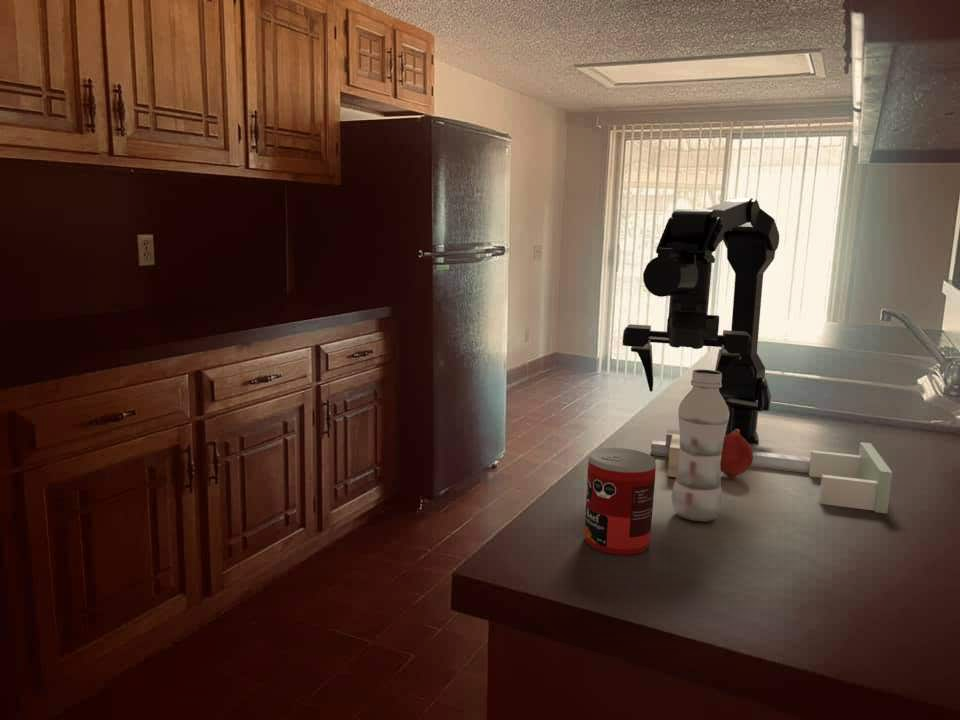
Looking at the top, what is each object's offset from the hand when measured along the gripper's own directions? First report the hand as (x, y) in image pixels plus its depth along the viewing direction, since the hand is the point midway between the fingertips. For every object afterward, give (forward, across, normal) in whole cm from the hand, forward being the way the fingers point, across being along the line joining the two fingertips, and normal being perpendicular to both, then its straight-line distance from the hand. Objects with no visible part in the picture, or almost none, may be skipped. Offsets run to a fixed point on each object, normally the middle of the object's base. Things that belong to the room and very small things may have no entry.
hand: (681, 393), depth 113 cm
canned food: (+13, -6, -29) cm, 33 cm away
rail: (+13, +11, +10) cm, 20 cm away
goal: (+13, +24, +1) cm, 27 cm away
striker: (+13, +1, +4) cm, 14 cm away
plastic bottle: (+13, +3, -18) cm, 22 cm away
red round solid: (+13, +8, +1) cm, 16 cm away
